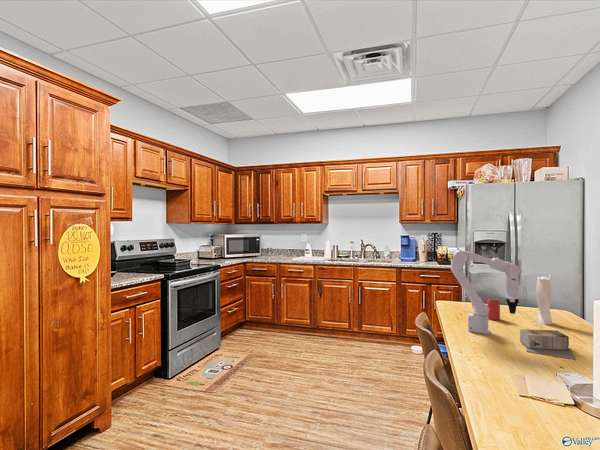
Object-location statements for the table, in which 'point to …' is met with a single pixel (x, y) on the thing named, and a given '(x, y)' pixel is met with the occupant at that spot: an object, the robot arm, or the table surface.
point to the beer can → (493, 308)
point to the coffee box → (544, 339)
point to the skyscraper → (544, 300)
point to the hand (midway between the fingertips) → (512, 313)
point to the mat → (553, 352)
